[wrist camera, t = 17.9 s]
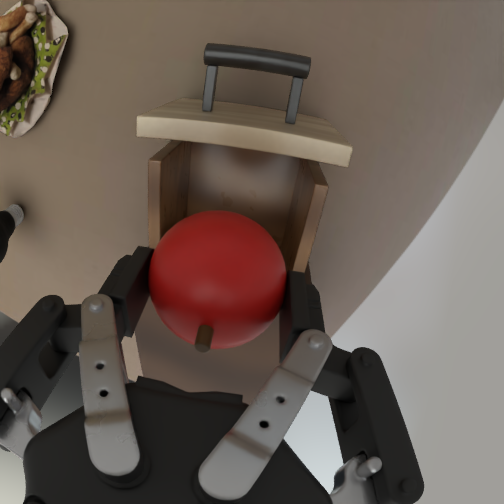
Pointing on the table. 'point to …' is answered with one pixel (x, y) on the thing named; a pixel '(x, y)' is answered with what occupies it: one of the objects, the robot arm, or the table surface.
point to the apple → (217, 280)
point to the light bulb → (8, 226)
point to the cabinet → (207, 358)
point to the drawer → (243, 156)
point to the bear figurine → (28, 63)
